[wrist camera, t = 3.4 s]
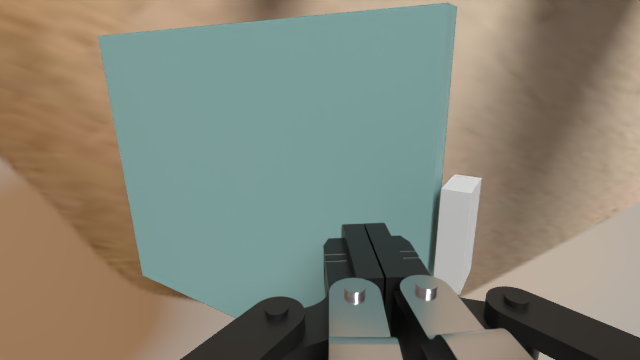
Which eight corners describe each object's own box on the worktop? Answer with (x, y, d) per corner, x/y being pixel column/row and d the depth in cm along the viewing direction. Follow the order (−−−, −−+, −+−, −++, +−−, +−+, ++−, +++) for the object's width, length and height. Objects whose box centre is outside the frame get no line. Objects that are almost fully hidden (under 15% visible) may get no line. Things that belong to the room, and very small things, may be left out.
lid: (502, 5, 12) (492, -2, 11) (456, 383, 17) (445, 417, 16) (128, 37, 23) (96, 36, 22) (165, 263, 28) (141, 275, 26)
